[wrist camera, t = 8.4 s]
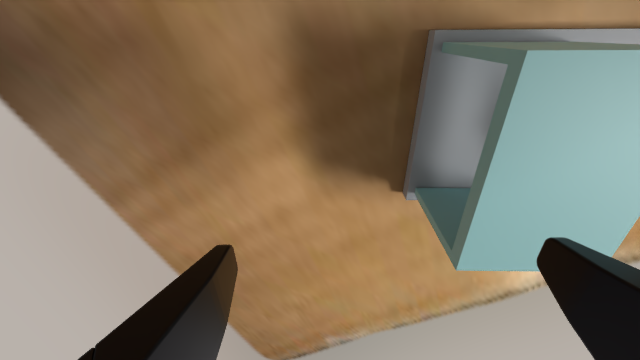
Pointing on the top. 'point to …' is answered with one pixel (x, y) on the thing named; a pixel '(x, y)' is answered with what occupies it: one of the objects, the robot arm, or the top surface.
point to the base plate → (469, 102)
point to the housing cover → (547, 156)
